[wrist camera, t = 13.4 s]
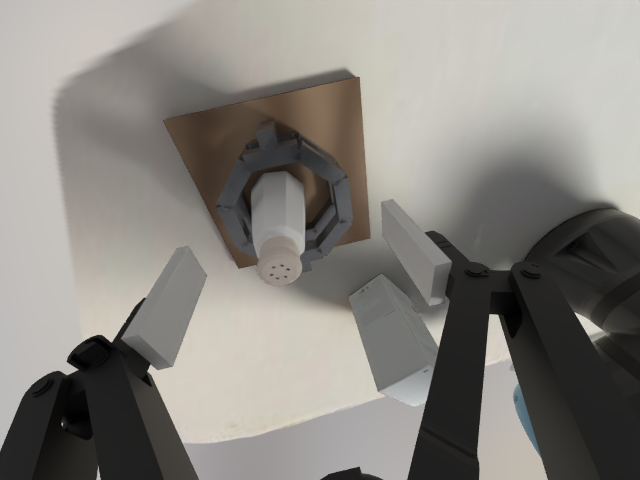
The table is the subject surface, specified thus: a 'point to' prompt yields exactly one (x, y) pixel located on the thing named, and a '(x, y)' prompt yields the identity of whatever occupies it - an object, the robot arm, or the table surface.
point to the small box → (394, 341)
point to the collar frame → (277, 152)
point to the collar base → (290, 115)
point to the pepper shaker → (278, 227)
